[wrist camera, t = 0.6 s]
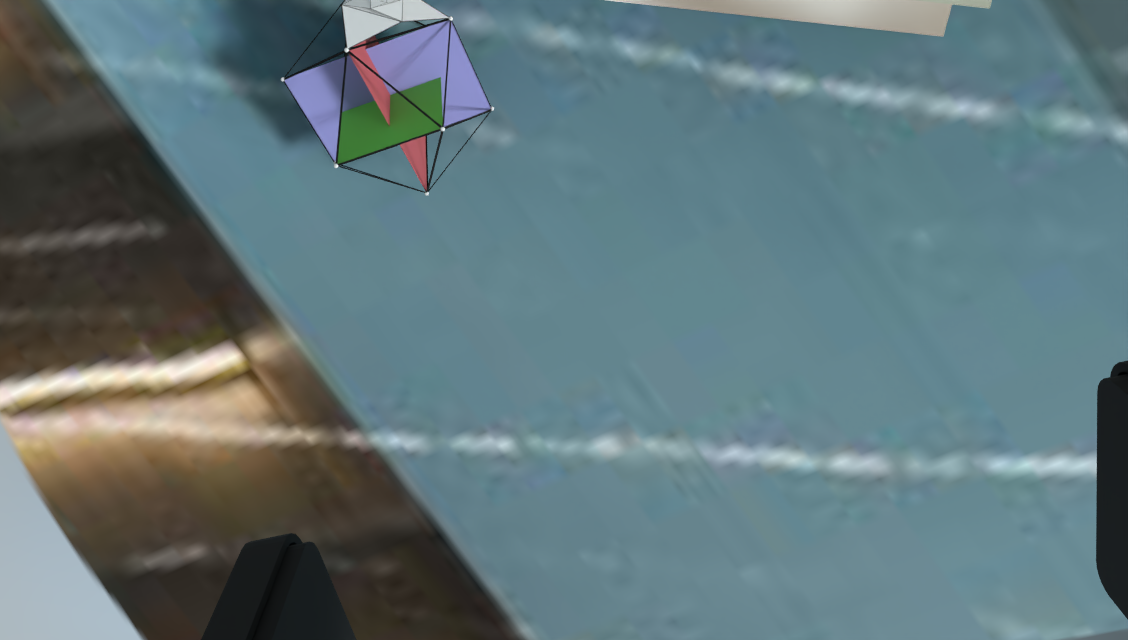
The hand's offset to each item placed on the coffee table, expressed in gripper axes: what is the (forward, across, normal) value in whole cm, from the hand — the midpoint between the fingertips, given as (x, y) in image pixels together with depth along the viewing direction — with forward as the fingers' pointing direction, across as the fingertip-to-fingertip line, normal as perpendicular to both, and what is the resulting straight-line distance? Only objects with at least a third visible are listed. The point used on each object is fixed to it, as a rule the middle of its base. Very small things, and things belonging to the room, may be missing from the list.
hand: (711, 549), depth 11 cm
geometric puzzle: (+31, +8, -2) cm, 32 cm away
